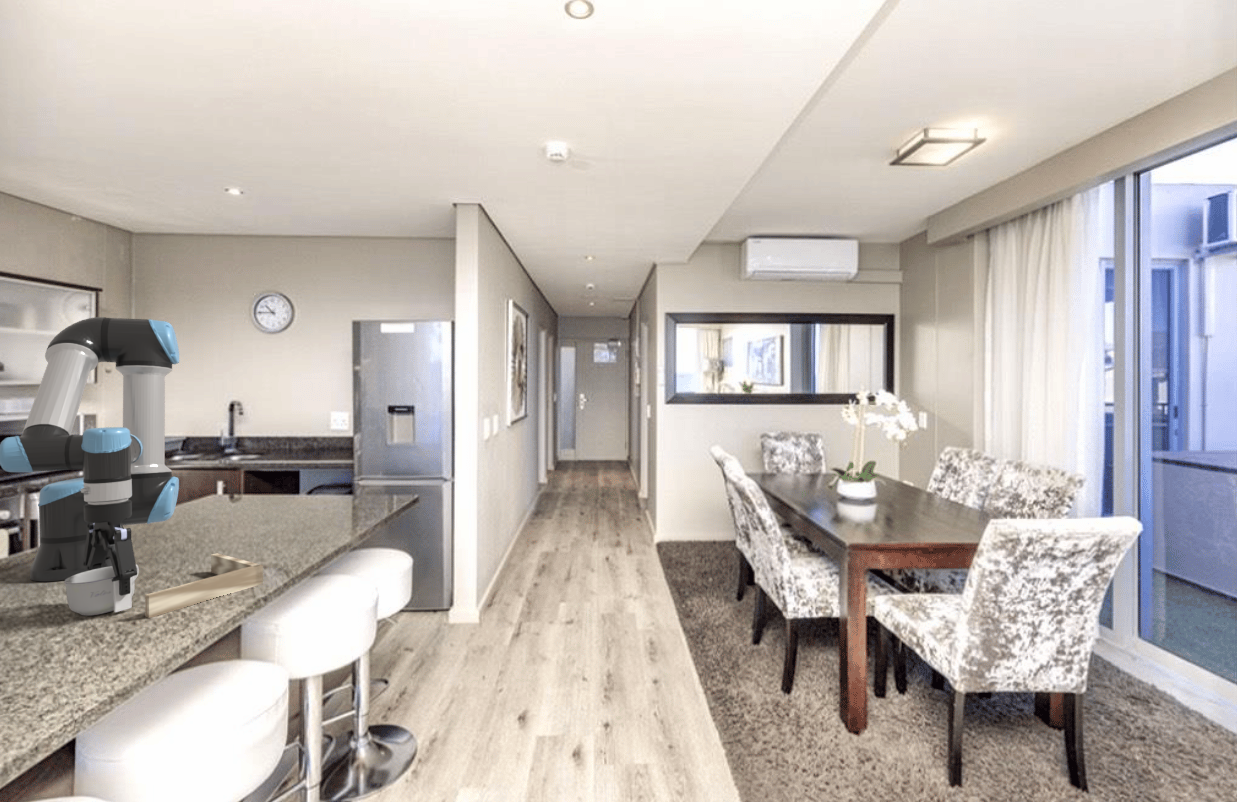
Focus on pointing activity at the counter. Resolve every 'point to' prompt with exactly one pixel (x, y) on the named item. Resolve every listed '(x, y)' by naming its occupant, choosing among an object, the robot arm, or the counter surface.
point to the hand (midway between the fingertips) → (110, 604)
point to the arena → (207, 585)
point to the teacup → (93, 591)
